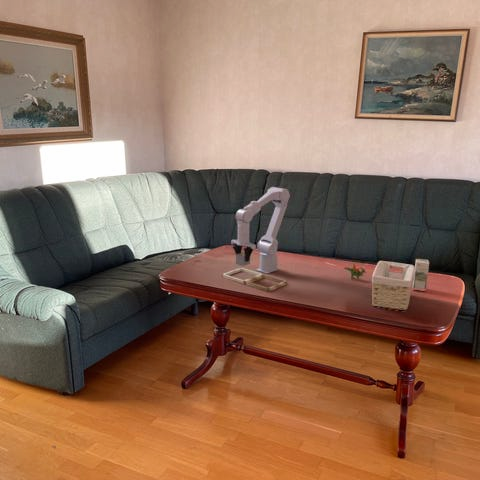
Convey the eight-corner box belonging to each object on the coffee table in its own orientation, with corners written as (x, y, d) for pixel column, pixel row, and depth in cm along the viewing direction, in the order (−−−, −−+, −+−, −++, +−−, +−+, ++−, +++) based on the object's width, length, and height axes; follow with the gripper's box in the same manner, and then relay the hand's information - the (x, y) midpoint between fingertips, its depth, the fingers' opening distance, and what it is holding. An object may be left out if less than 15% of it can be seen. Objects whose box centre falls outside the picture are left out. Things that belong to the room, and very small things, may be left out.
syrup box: (425, 288, 219) (428, 259, 215) (425, 292, 214) (429, 263, 210) (412, 286, 221) (415, 258, 217) (412, 290, 215) (416, 261, 212)
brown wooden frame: (263, 276, 231) (263, 274, 231) (286, 283, 222) (287, 281, 222) (244, 284, 221) (244, 281, 220) (268, 291, 211) (268, 288, 211)
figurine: (363, 282, 226) (365, 266, 224) (341, 277, 233) (342, 262, 231) (366, 280, 228) (367, 265, 226) (343, 275, 235) (344, 260, 233)
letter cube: (242, 261, 232) (242, 252, 231) (249, 263, 229) (250, 254, 228) (235, 263, 229) (236, 254, 227) (243, 266, 226) (243, 256, 224)
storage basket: (407, 314, 190) (411, 280, 186) (367, 307, 196) (371, 274, 192) (412, 295, 211) (415, 264, 207) (375, 289, 217) (378, 259, 213)
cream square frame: (241, 270, 241) (241, 267, 240) (262, 276, 232) (262, 273, 231) (221, 277, 230) (222, 274, 230) (243, 284, 221) (243, 281, 221)
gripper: (227, 232, 227) (226, 258, 230) (249, 237, 217) (248, 265, 221) (236, 230, 232) (236, 255, 235) (258, 235, 223) (258, 261, 226)
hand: (243, 260), depth 229 cm, fingers closed on letter cube, 5 cm apart
